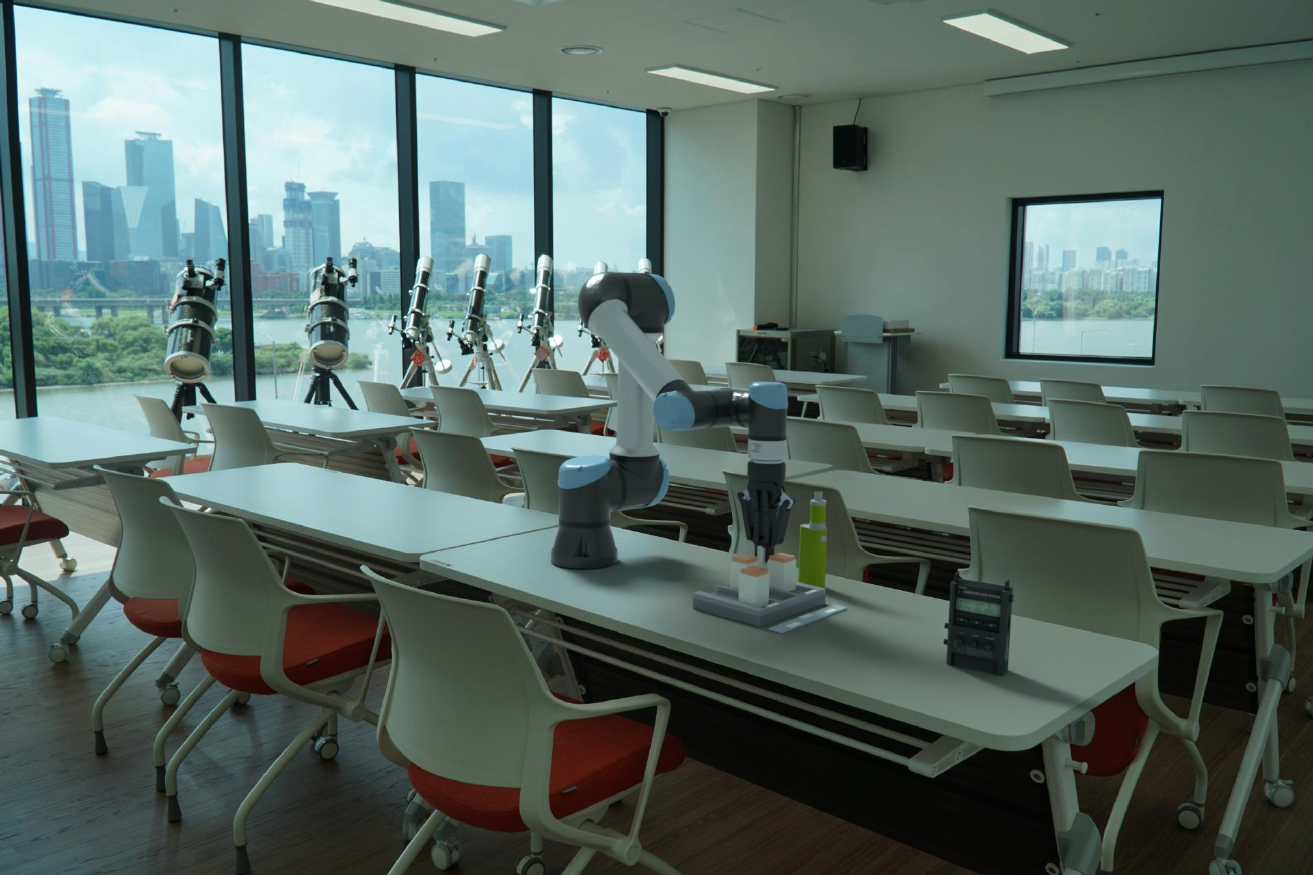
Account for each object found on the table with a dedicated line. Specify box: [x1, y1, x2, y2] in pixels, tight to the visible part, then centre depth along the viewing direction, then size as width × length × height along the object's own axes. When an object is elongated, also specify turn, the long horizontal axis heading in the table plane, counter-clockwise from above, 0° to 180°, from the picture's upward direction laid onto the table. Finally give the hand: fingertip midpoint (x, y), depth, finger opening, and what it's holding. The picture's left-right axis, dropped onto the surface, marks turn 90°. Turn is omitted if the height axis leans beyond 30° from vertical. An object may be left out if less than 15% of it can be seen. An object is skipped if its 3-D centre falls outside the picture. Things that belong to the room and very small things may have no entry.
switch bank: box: [692, 581, 827, 628], centre depth 193 cm, size 16×21×3 cm
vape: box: [797, 491, 828, 589], centre depth 206 cm, size 4×6×20 cm, turn 37°
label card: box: [768, 603, 848, 634], centre depth 185 cm, size 3×21×1 cm, turn 137°
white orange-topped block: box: [767, 552, 797, 592], centre depth 196 cm, size 4×4×7 cm
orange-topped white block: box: [729, 553, 759, 590], centre depth 195 cm, size 4×4×7 cm
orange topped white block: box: [739, 566, 769, 607], centre depth 186 cm, size 4×4×7 cm
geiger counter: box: [943, 571, 1015, 677], centre depth 160 cm, size 10×4×15 cm, turn 56°
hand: (763, 577), depth 199 cm, fingers closed
